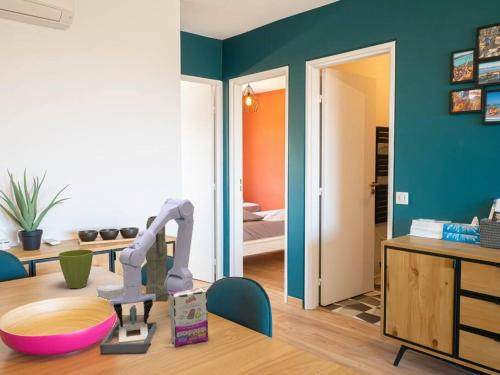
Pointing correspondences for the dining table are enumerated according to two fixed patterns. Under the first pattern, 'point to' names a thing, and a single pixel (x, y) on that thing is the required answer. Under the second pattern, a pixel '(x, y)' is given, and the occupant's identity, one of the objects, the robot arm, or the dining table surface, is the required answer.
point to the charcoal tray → (126, 347)
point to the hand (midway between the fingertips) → (133, 324)
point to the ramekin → (110, 291)
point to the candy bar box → (189, 316)
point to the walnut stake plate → (127, 319)
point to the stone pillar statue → (157, 265)
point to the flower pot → (76, 267)
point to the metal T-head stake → (134, 312)
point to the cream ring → (133, 326)
